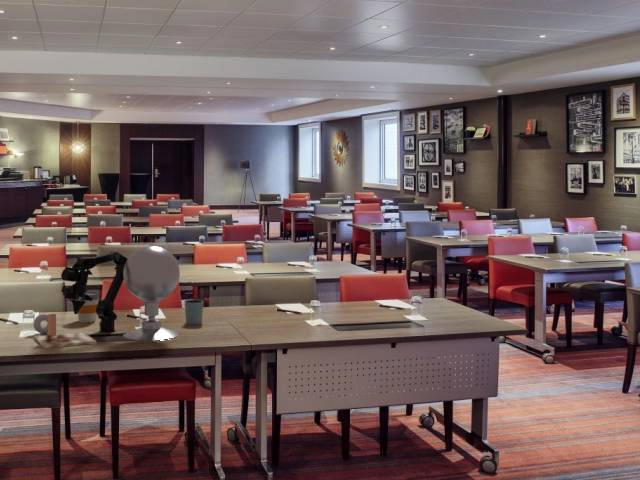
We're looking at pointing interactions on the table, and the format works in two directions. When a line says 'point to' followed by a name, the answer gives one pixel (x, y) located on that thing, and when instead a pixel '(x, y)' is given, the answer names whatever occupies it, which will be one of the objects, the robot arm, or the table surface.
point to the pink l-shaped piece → (53, 328)
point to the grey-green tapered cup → (194, 311)
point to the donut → (38, 323)
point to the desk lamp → (151, 288)
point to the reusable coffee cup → (89, 308)
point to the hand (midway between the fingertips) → (75, 314)
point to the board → (73, 340)
